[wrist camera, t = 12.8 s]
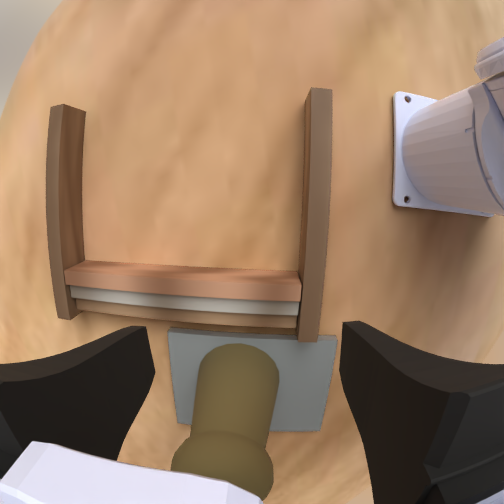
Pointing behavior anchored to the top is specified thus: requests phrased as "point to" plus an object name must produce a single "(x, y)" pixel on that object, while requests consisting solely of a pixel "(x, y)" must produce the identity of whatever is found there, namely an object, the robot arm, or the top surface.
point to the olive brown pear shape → (232, 419)
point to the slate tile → (286, 359)
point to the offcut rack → (183, 277)
